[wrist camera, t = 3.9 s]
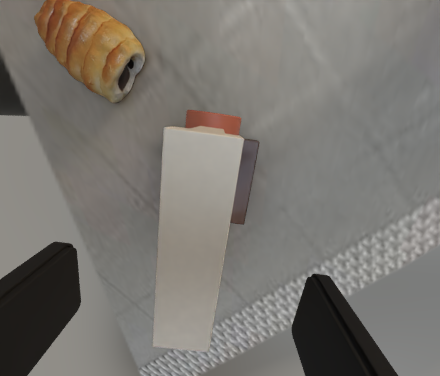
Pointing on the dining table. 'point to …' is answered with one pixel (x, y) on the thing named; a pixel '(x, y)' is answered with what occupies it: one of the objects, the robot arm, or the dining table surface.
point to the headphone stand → (244, 180)
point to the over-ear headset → (194, 226)
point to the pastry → (91, 46)
